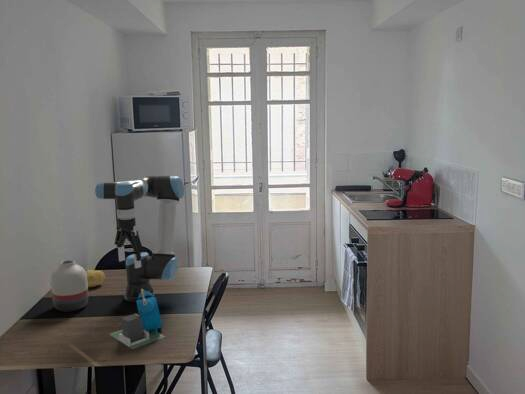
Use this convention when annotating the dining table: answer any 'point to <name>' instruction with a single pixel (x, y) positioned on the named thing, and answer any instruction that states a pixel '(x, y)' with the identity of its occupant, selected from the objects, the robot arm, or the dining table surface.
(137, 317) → the plug
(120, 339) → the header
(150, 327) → the blue suitcase
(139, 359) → the dining table surface
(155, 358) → the dining table surface
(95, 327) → the dining table surface
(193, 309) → the dining table surface
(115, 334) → the board
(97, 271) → the potato
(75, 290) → the vase
